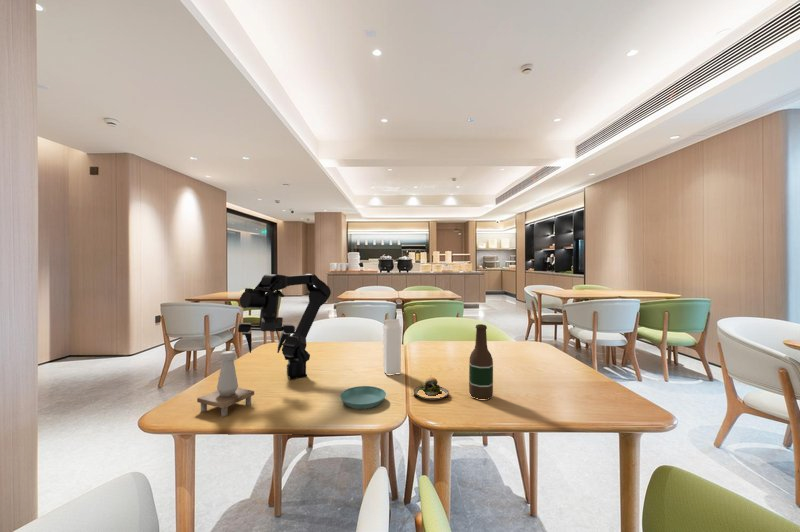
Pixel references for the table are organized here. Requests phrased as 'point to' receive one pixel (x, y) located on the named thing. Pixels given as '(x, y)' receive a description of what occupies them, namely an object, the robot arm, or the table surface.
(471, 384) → the beer bottle
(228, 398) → the small stand
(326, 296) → the robot arm
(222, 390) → the salt shaker
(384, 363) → the milk
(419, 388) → the plate of food
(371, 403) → the saucer
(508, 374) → the table surface
